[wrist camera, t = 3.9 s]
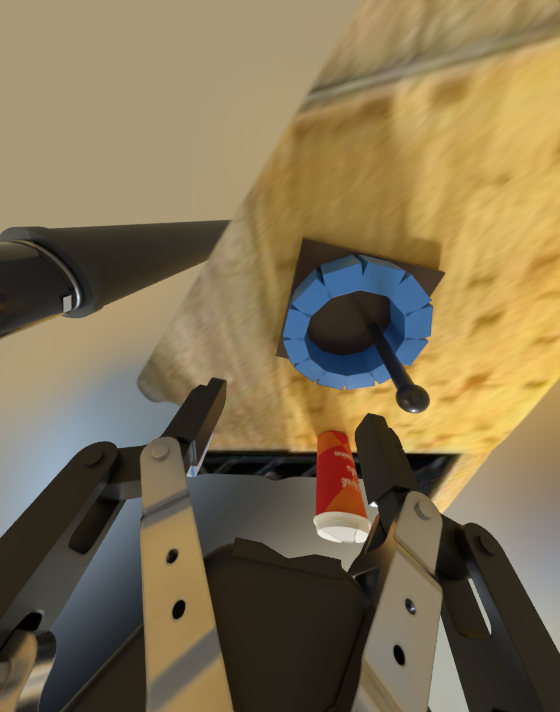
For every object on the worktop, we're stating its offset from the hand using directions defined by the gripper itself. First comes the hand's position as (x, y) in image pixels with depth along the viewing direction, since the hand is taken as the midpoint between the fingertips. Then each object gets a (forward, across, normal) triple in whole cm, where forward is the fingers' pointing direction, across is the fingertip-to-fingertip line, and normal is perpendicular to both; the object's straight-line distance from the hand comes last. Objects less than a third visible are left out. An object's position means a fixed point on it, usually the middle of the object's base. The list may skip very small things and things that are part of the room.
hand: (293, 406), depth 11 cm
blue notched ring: (+14, -5, 0) cm, 15 cm away
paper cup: (+15, -12, +24) cm, 31 cm away
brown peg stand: (+15, -5, 0) cm, 16 cm away
